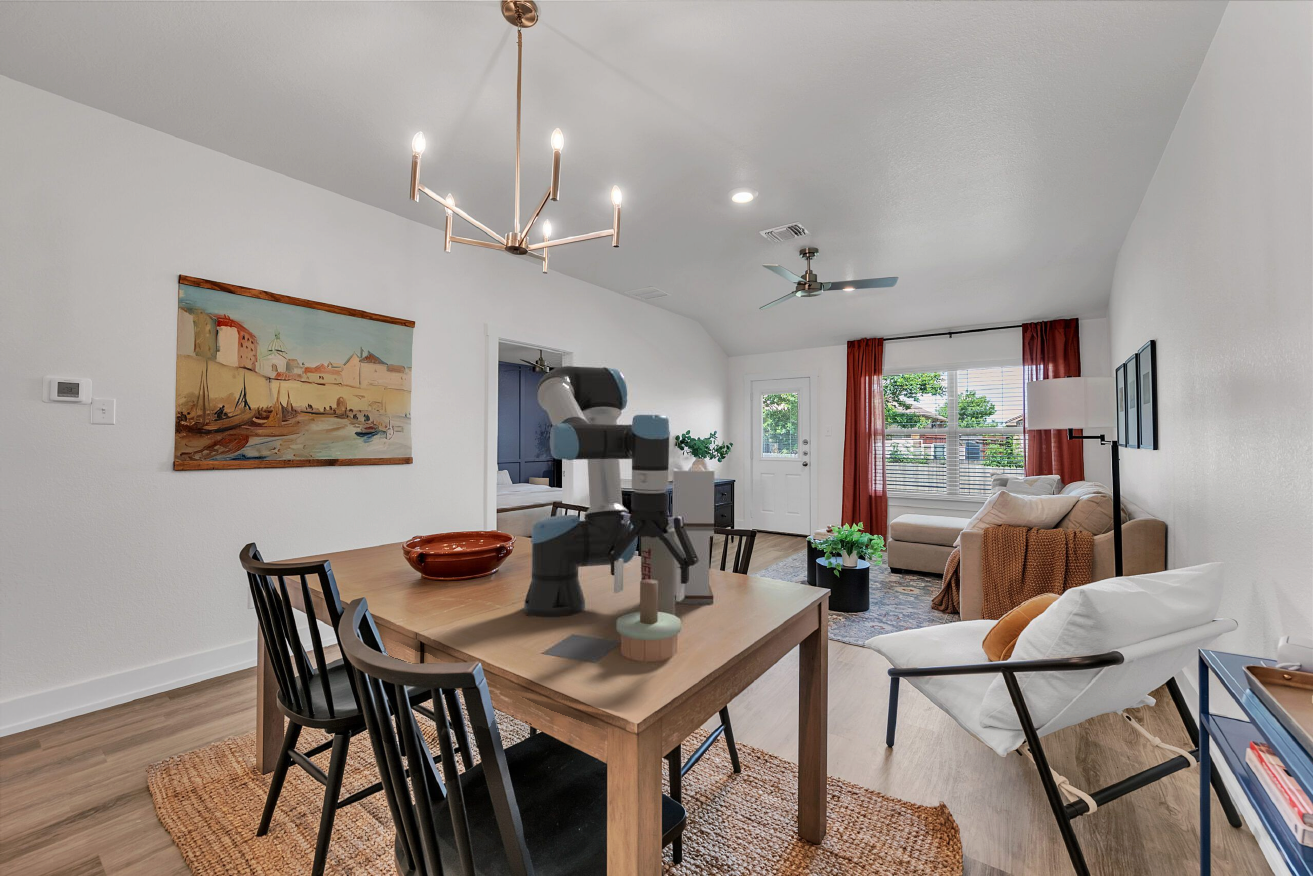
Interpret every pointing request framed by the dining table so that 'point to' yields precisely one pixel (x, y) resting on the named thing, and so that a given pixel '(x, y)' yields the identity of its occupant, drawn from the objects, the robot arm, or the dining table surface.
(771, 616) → the dining table surface
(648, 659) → the bowl
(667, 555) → the thermos bottle
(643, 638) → the lid
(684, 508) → the white pedestal stand
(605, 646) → the mat
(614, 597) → the dining table surface
